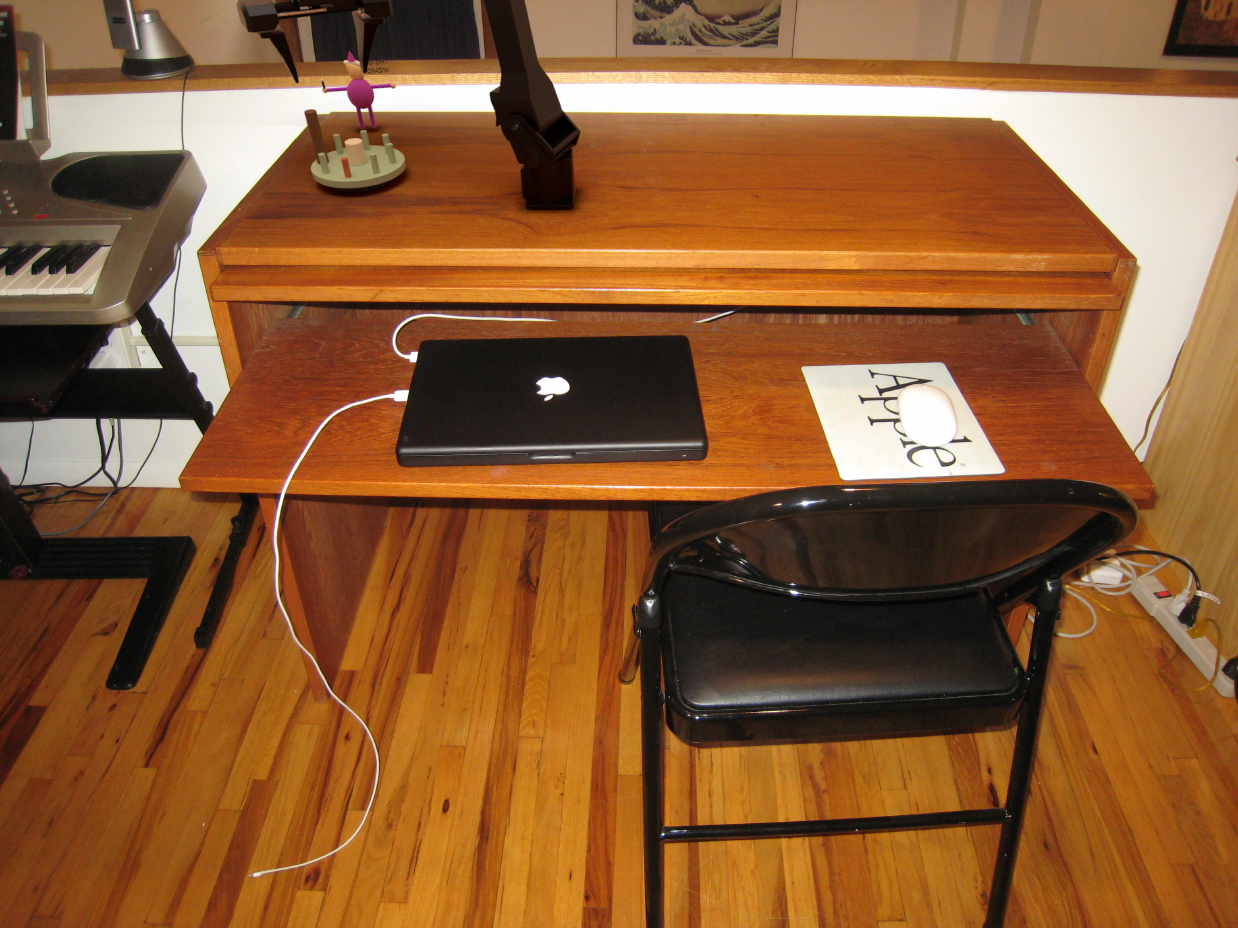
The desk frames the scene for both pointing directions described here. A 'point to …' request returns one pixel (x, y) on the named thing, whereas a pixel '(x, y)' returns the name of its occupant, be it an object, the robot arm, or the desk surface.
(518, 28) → the robot arm
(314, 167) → the pegged crank wheel
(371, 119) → the wizard figurine
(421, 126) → the desk surface
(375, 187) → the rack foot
